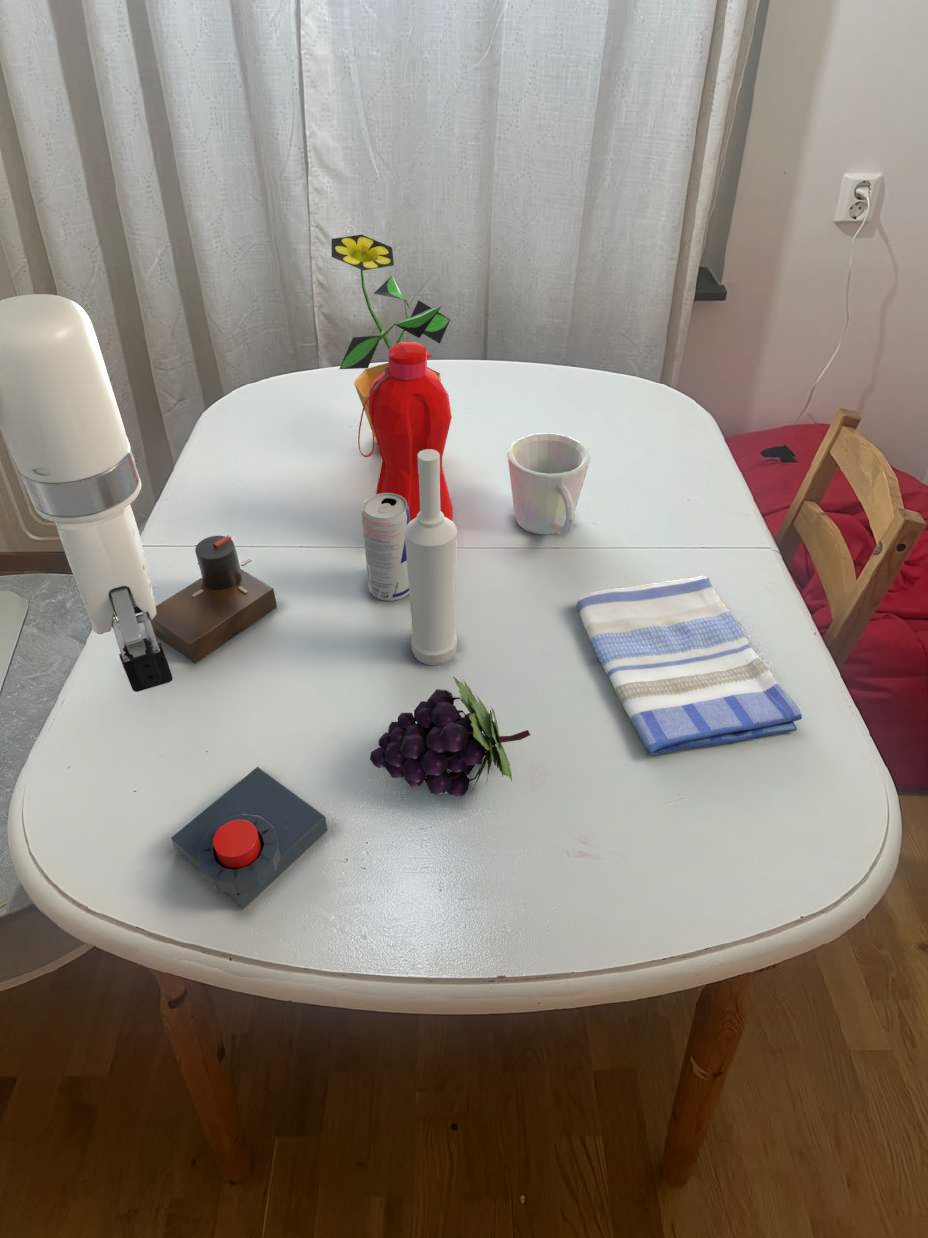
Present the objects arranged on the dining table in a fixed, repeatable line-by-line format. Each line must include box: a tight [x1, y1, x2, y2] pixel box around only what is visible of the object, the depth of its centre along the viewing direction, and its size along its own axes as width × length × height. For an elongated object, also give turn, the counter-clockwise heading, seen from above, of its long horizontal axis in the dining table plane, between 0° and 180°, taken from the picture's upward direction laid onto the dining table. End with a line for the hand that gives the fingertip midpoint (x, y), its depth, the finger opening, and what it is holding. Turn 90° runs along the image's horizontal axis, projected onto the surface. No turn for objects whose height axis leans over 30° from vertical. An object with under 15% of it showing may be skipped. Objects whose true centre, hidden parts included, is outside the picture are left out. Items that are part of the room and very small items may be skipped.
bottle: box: [405, 449, 458, 666], centre depth 86 cm, size 5×5×25 cm
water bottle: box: [357, 341, 454, 522], centre depth 103 cm, size 9×11×25 cm
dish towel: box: [575, 574, 803, 755], centre depth 92 cm, size 17×24×3 cm
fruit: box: [369, 675, 531, 799], centre depth 79 cm, size 10×11×15 cm
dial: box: [194, 534, 242, 590], centre depth 98 cm, size 4×4×5 cm
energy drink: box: [361, 493, 410, 602], centre depth 99 cm, size 5×5×12 cm
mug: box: [506, 432, 591, 536], centre depth 109 cm, size 10×15×10 cm
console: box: [150, 558, 278, 665], centre depth 98 cm, size 14×10×3 cm
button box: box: [170, 766, 328, 910], centre depth 75 cm, size 11×10×4 cm
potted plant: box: [331, 234, 451, 446], centre depth 117 cm, size 18×19×30 cm
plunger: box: [213, 820, 261, 868], centre depth 71 cm, size 4×4×2 cm
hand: (143, 646), depth 73 cm, fingers open, 9 cm apart
